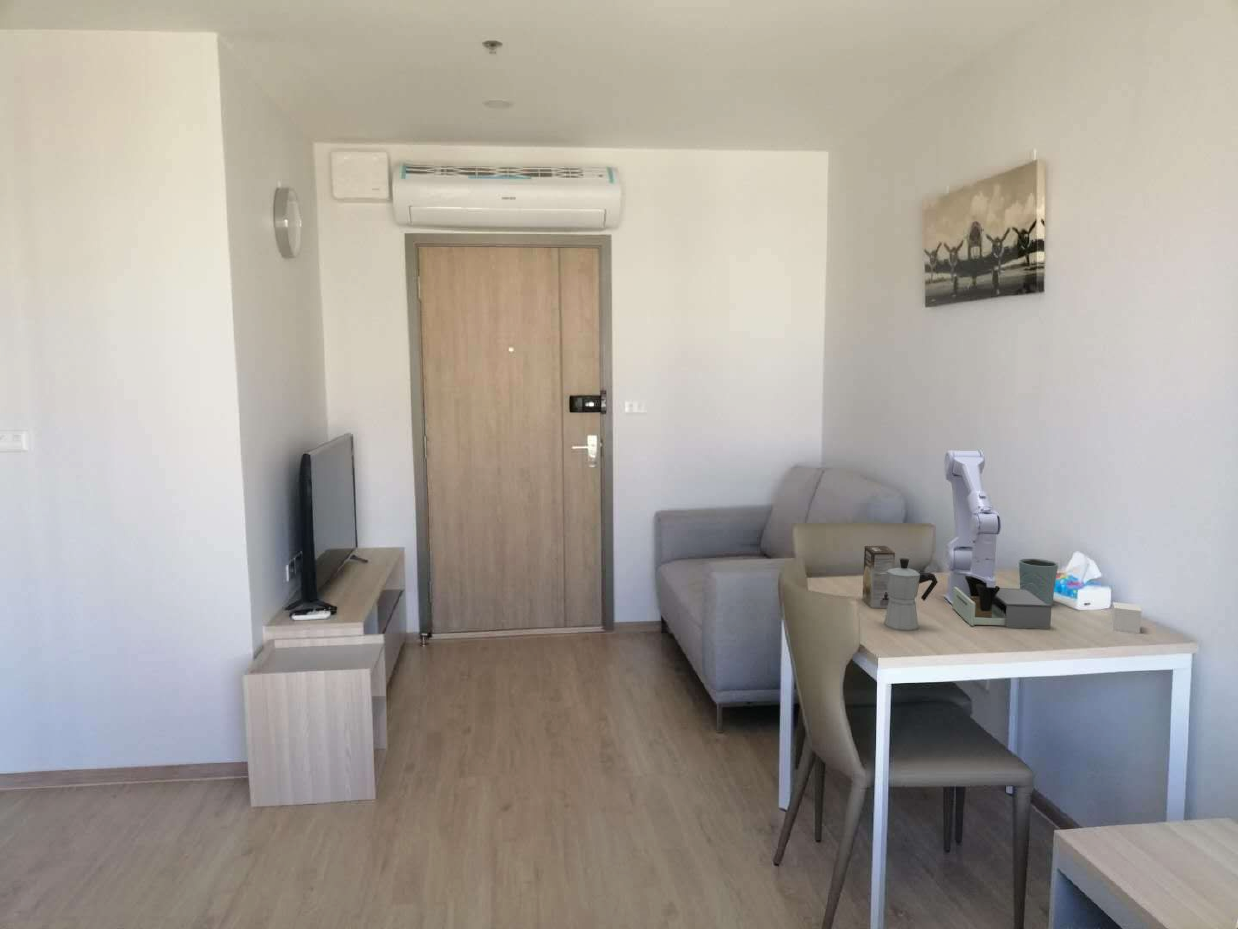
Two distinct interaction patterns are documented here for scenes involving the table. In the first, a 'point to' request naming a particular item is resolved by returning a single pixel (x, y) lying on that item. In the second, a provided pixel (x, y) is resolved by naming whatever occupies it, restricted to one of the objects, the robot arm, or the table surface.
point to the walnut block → (978, 611)
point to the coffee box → (876, 575)
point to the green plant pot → (1038, 577)
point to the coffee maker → (904, 595)
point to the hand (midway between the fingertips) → (980, 606)
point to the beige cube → (1126, 617)
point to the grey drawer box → (1023, 609)
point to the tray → (967, 610)
